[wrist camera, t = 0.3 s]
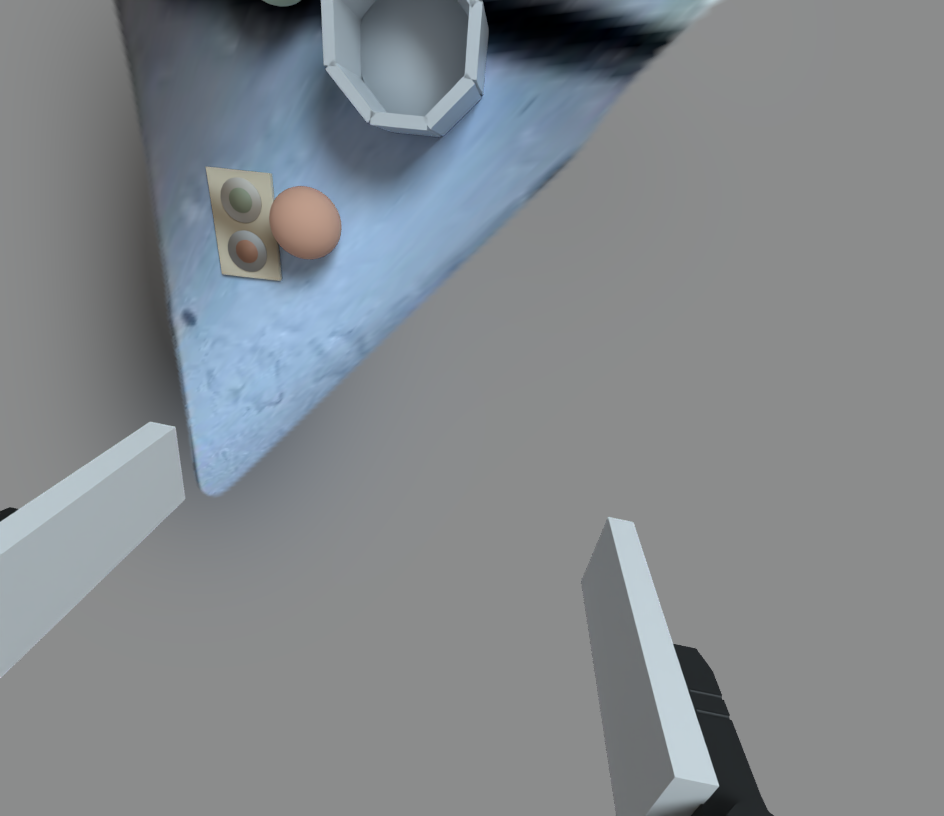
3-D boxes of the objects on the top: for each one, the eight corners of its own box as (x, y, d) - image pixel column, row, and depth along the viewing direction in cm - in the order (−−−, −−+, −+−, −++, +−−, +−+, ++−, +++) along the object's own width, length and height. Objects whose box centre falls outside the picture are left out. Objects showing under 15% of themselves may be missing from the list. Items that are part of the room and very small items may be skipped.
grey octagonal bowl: (351, -38, 29) (317, -82, 24) (493, -26, 29) (488, -68, 24) (354, 128, 33) (326, 120, 28) (479, 141, 33) (472, 135, 28)
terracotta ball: (285, 182, 35) (251, 183, 31) (349, 189, 35) (324, 190, 30) (291, 250, 37) (260, 260, 33) (351, 257, 37) (328, 268, 33)
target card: (208, 166, 35) (204, 166, 35) (272, 173, 35) (268, 173, 34) (224, 273, 39) (220, 274, 38) (282, 280, 38) (279, 281, 38)
